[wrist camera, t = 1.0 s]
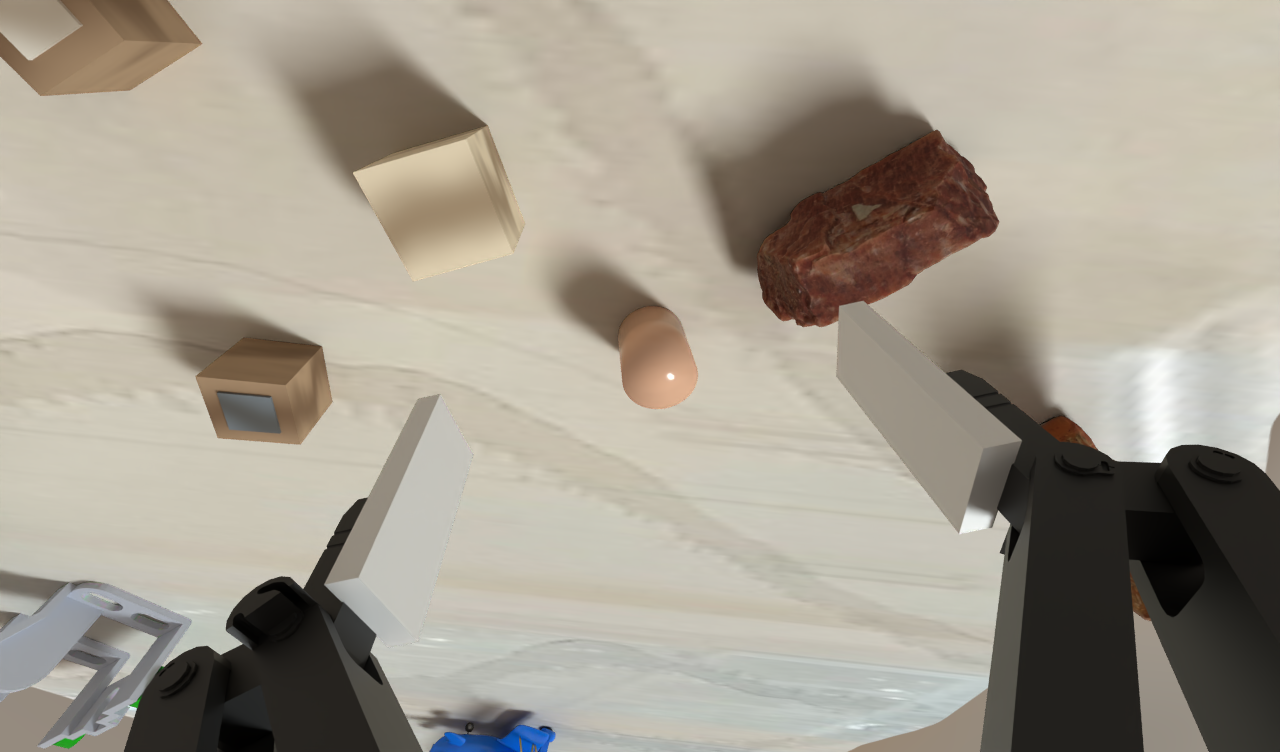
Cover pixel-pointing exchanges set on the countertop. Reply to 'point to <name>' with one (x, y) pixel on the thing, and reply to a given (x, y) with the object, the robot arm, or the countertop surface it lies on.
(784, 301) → the rock
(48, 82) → the walnut block
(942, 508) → the robot arm
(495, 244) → the maple block
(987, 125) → the countertop surface
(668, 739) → the countertop surface
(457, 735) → the airplane toy
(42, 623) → the bracket
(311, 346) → the walnut block
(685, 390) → the peach rounded cylinder
